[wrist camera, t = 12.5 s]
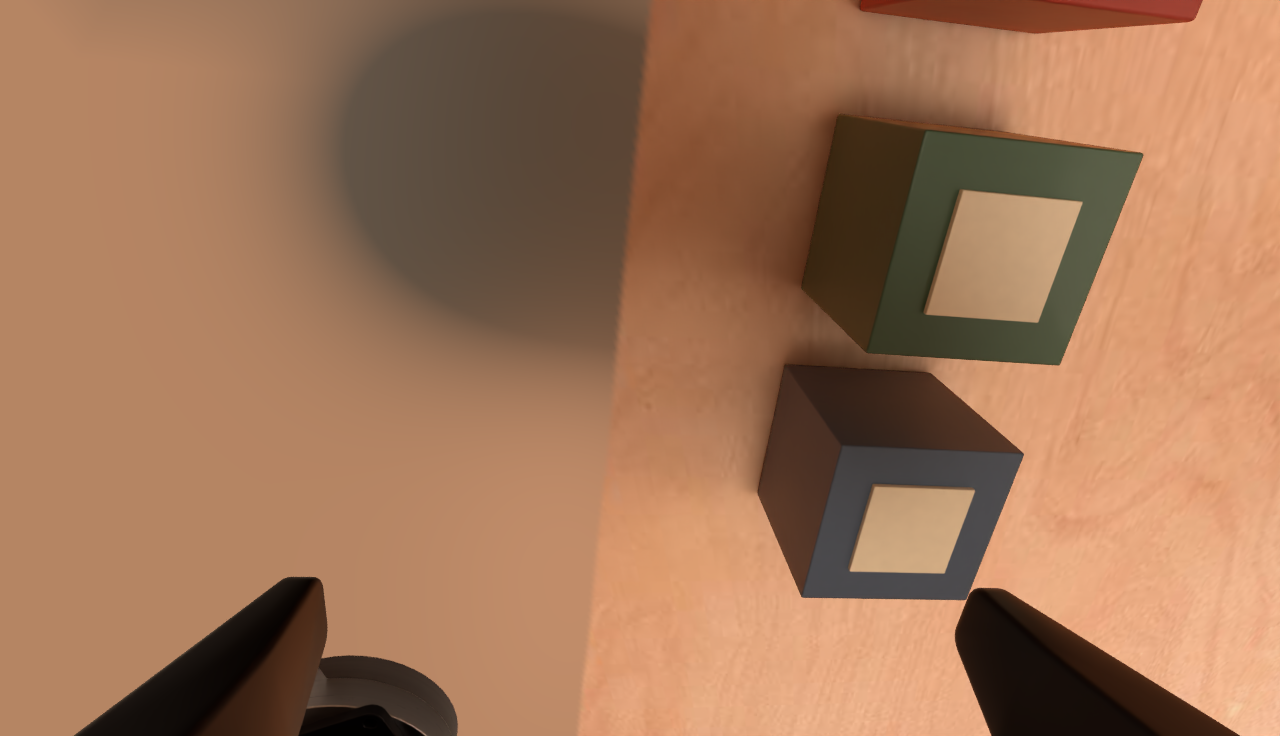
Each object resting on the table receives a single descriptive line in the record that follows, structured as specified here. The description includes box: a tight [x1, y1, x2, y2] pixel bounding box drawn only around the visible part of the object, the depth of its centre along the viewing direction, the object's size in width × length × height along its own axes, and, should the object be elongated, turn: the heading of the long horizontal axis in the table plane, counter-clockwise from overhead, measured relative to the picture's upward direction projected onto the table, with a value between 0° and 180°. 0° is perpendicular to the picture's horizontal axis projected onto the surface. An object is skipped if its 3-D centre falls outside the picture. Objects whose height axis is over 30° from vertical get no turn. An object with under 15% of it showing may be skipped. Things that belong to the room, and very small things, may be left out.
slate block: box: [758, 365, 1024, 600], centre depth 20 cm, size 5×5×5 cm
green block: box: [801, 114, 1143, 365], centre depth 17 cm, size 5×5×5 cm
